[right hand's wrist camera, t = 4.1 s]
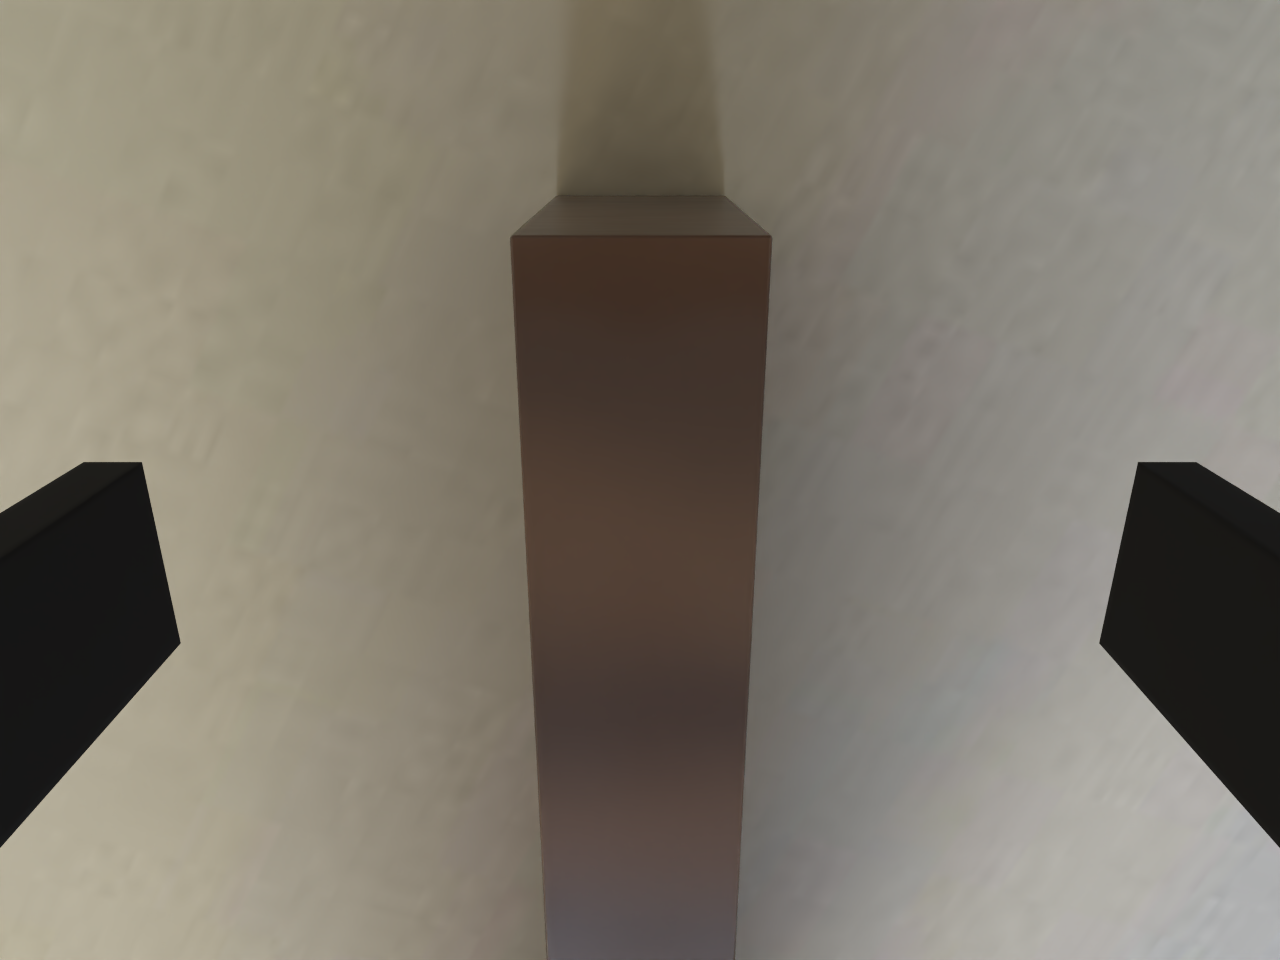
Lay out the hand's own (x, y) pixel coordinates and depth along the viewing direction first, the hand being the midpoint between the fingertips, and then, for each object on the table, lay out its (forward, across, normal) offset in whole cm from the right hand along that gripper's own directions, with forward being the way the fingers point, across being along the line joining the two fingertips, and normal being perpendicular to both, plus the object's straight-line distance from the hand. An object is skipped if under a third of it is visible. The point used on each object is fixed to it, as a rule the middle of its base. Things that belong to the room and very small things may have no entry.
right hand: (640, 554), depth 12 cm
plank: (+17, 0, -14) cm, 22 cm away
